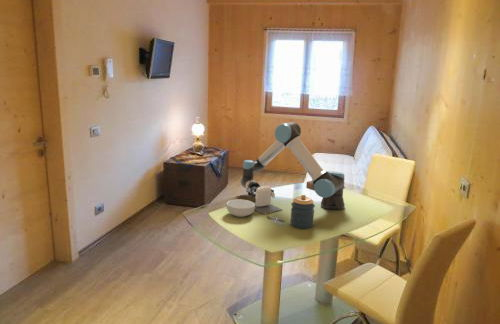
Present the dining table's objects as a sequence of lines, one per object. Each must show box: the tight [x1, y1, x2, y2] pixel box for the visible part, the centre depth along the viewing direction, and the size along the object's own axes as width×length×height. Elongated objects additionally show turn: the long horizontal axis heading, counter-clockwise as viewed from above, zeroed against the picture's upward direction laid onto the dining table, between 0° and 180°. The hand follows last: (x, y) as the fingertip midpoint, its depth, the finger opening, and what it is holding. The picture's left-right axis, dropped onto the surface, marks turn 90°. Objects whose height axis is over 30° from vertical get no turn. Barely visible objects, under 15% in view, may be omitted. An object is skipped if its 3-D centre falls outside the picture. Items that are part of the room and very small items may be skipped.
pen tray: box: [306, 180, 314, 190], centre depth 297 cm, size 14×26×4 cm, turn 126°
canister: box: [289, 194, 315, 230], centre depth 215 cm, size 13×13×18 cm
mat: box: [253, 201, 283, 215], centre depth 243 cm, size 20×15×1 cm
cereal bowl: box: [226, 198, 255, 218], centre depth 228 cm, size 17×17×7 cm
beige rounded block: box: [254, 185, 272, 207], centre depth 241 cm, size 10×4×12 cm, turn 123°
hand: (266, 196), depth 237 cm, fingers closed on beige rounded block, 10 cm apart
